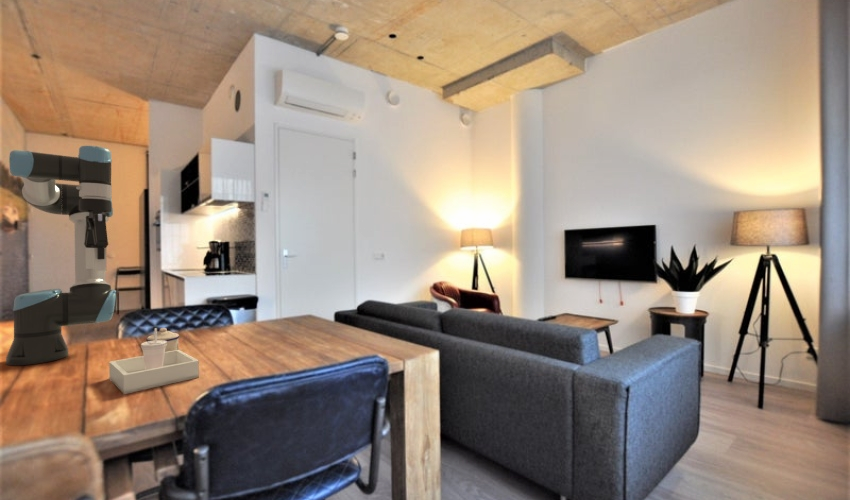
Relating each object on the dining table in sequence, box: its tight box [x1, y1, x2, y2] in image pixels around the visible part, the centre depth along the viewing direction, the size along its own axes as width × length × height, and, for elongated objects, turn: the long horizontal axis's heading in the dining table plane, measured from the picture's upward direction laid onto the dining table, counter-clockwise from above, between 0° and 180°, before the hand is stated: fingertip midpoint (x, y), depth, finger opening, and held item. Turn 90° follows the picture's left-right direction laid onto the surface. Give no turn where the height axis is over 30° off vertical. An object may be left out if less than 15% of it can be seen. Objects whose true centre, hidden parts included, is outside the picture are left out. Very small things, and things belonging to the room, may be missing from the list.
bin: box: [108, 349, 200, 395], centre depth 116 cm, size 18×18×5 cm
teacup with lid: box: [145, 327, 180, 352], centre depth 131 cm, size 12×9×12 cm
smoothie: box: [140, 327, 167, 370], centre depth 116 cm, size 6×6×14 cm
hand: (95, 269), depth 118 cm, fingers open, 13 cm apart
